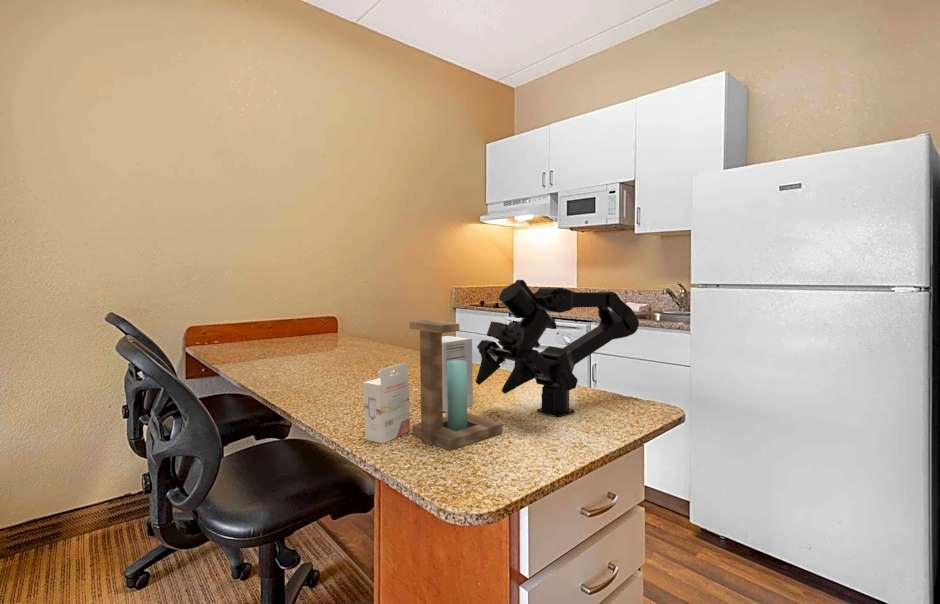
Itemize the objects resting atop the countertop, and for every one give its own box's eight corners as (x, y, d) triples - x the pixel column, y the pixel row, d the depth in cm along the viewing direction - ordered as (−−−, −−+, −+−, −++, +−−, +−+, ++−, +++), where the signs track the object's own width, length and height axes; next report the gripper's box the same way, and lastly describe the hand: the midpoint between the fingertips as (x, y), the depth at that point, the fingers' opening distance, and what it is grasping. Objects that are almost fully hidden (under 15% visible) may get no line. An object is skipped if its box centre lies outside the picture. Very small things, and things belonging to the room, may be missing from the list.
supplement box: (474, 405, 119) (473, 338, 118) (445, 413, 112) (445, 342, 111) (449, 398, 126) (448, 334, 125) (421, 405, 119) (420, 338, 118)
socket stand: (464, 420, 107) (463, 316, 105) (502, 433, 98) (502, 320, 96) (408, 435, 97) (406, 321, 95) (445, 452, 88) (444, 325, 86)
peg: (465, 430, 100) (464, 359, 99) (468, 436, 96) (468, 363, 95) (446, 431, 99) (445, 360, 98) (449, 438, 95) (448, 364, 94)
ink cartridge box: (392, 427, 102) (391, 359, 101) (410, 431, 99) (409, 362, 98) (363, 440, 95) (362, 366, 94) (382, 444, 92) (381, 369, 91)
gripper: (483, 305, 111) (443, 357, 106) (538, 311, 96) (494, 373, 90) (509, 335, 116) (473, 387, 111) (566, 345, 101) (526, 406, 95)
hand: (489, 387), depth 102 cm, fingers open, 9 cm apart
